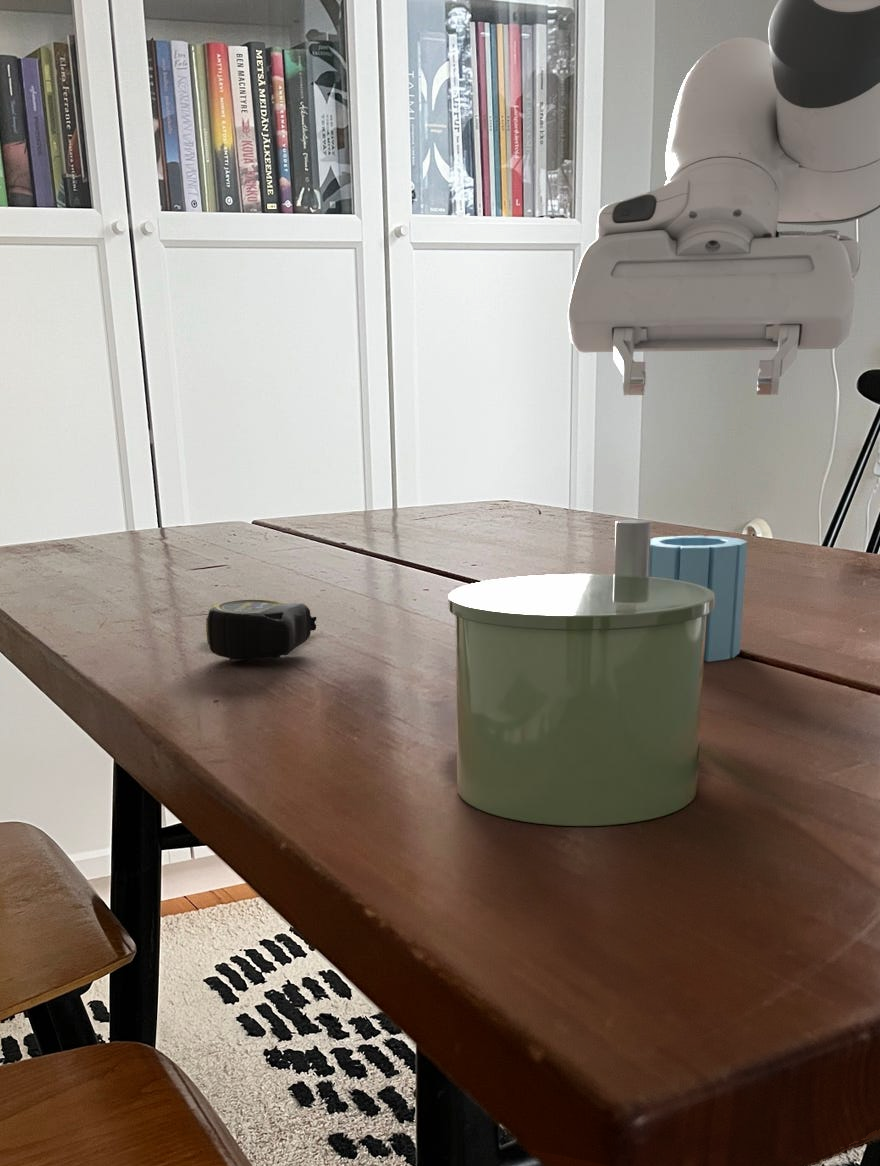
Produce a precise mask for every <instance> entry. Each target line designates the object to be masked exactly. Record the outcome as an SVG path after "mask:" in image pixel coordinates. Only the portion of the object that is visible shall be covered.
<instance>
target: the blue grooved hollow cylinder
mask: <svg viewBox="0 0 880 1166" xmlns="http://www.w3.org/2000/svg"><path fill="white" fill-rule="evenodd" d="M747 551H748V541H747V540H746V539H745V540H744V539H741V538H738V537H733V536H732V537H731V536H720V535H719V536H718V535H707V536H705V535H678V536H677V535H676V536H675V535H670V536H669V535H668V536H660V537H658V536H657V537H651V548H650V572H649V577H657V578H666V579H673V580H679V581H685V582H690V583H694V584H698V585H701V586H704V587H706V588H708V589H710V590H712V591H713V592H714V595H715V603H714V609H713V610H712V612H710V613H709V614H707V618H706V635H705V652H704V662H707V663H708V662H709V663H710V662H717V661H725V660H730V659H734V658H735V657H736V656H738V655H739V654H740V653H741V641H742V640H741V639H742V628H743V627H742V625H743V610H744V599H745V598H744V596H745V583H746V569H747V567H746V566H747Z"/></svg>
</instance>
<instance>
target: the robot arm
mask: <svg viewBox="0 0 880 1166" xmlns="http://www.w3.org/2000/svg"><path fill="white" fill-rule="evenodd" d="M767 36H768V37H767V38H768V43H769V44H768V43H767V42H765V41H763V40H762V39H760V38H759V39H758V38H756V37H750V36H740V37H734V38H730V39H727V40H724V41H722V42H719V43H718V44H716V45H714V46H712V47H711V48H710V49H708V50H707V51H706V52H705V53H704V54H702V55H701V56H700V57H699V58H698V60H696V62H695V63H694V65H693V66H692V68H691V69H690V70H689V72H688V73H687V74H686V77H685V78H684V80H683V82H682V85H681V86H680V89H679V92H678V95H677V99H676V101H675V105H674V109H673V112H672V117H671V121H670V126H669V127H670V128H669V132H668V138H667V143H666V151H665V172H666V173H665V174H666V177H667V180H666V181H665V184H664V185H661V186H659V187H656V188H655V189H651V190H650V191H647V192H644V193H641V194H638V195H635V196H632V197H629V198H626V199H621V200H619V201H615V202H612V203H609V204H606V205H605V206H603V207H601V208H600V210H599V212H598V214H597V221H596V222H597V223H596V231H595V232H596V233H595V235H596V237H595V238H596V239H595V240H594V241H593V242H592V243H591V244H589V246H587V248H586V250H585V251H584V253H583V255H582V257H581V259H580V261H579V264H578V268H577V271H576V273H575V277H574V280H573V284H572V287H571V288H572V289H571V293H570V297H569V303H568V311H567V324H568V332H569V334H568V335H569V339H570V342H571V343H572V345H573V346H574V347H575V349H576V350H577V351H578V352H580V353H585V354H586V353H589V354H590V353H612V354H613V362H614V363H615V365H616V366H617V368H618V370H619V372H620V373H621V375H622V376H623V377H622V390H623V391H622V392H623V396H626V397H627V396H644V395H645V391H646V390H645V386H646V382H647V381H646V380H647V372H646V367H647V366H646V361H635V359H634V353H640V352H641V353H643V352H645V353H646V352H647V353H649V352H651V353H652V352H653V353H654V352H713V351H714V352H715V351H716V352H717V351H722V352H723V351H776V353H775V354H774V356H773V357H772V358H771V359H763V360H759V366H758V374H757V375H758V377H757V385H756V386H757V388H756V395H757V396H771V395H773V396H774V395H775V396H777V395H779V386H780V378H781V377H782V376H784V374H785V373H786V372H787V370H788V369H790V367H791V366H792V365H793V364H794V362H795V361H796V359H797V356H798V350H833V349H834V350H835V349H837V348H838V347H839V346H840V345H842V343H844V342H845V341H846V340H847V339H848V337H849V335H850V331H851V328H852V327H851V326H852V321H853V314H854V302H855V301H854V300H855V299H854V297H855V296H854V281H853V279H854V278H855V277H856V275H857V274H858V273H859V271H860V266H861V247H860V244H859V242H858V241H857V240H855V239H853V238H852V237H849V236H848V235H844V234H843V235H842V234H841V231H840V230H836V229H823V230H821V231H805V230H804V231H803V230H784V231H778V224H779V225H780V224H781V225H794V226H795V225H796V226H829V225H840V224H845V223H849V222H853V221H857V220H859V219H862V218H864V217H867V216H869V215H870V214H872V213H874V212H876V211H877V210H878V209H880V0H778V1H777V3H776V5H775V6H774V8H773V11H772V13H771V16H770V19H769V23H768V28H767Z"/></svg>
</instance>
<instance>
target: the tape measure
mask: <svg viewBox="0 0 880 1166" xmlns="http://www.w3.org/2000/svg"><path fill="white" fill-rule="evenodd" d="M205 622H206V623H205V627H206V629H205V630H206V632H205V633H206V641H207V645H208V646H209V649H210V652H211V653H212V654H215V655H217V656H219V657H221V658H227V659H229V660H230V661H231V662H235V663H236V662H239V661H243V660H256V659H268V658H270V659H271V660H276V661H280V660H281V657H282V656H287V655H289V654H290V653H291V652H293V651H294V650H295V649H296V648H298V647H299V646H300V645H303V644H304V643H305V642H307V641H308V639H309V638H310V636H311V634H312V631H313V632H314V631H316V629H317V624H316V622H317V616H312V613H311V610H310V608H309V606H308V605H306V604H305V603H303V602H283V601H282V602H281V601H278V600H271V599H270V600H269V599H239V600H230V601H225V602H219V603H217V604H215V605H213V606H212V607H210V609H209V610H208V614H207V616H206V619H205Z"/></svg>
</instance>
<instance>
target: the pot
mask: <svg viewBox="0 0 880 1166" xmlns="http://www.w3.org/2000/svg"><path fill="white" fill-rule="evenodd" d="M652 523H653V522H652V520H650V519H649V520H647V519H620V520H619V519H618V520H616V521H615V527H614V556H613V557H614V559H613V562H614V563H613V574H609V573H608V574H607V573H605V574H602V573H601V574H600V573H599V574H597V573H596V574H595V573H574V574H573V573H570V574H569V573H568V574H567V573H565V574H544V575H527V576H516V577H507V578H498V579H497V578H496V579H490V580H485V581H480V582H475V583H470V584H467V585H463V586H460V587H458V588H456V589H454V590H452V591H451V592H450V593H448V596H447V606H448V607H447V608H448V611H449V612H450V613H451V614H452V615H453V616H454V629H455V630H454V633H455V637H454V638H455V643H454V644H455V711H456V712H455V714H456V715H455V721H456V722H455V723H456V726H455V727H456V733H455V734H456V790H457V793H458V795H459V797H460V798H461V799H462V800H463V802H465V803H466V804H468V805H469V806H471V807H473V808H475V809H477V810H479V811H482V812H485V813H487V814H490V815H493V816H497V817H499V818H504V819H508V820H512V821H517V822H518V821H519V822H522V823H523V822H524V823H530V824H538V825H545V826H546V825H547V826H561V827H562V826H563V827H600V826H601V827H602V826H603V827H604V826H616V825H627V824H633V823H640V822H644V821H649V820H653V819H658V818H662V817H665V816H668V815H670V814H673V813H677V812H678V811H680V810H682V809H684V808H685V807H687V806H688V805H689V804H691V803H692V802H693V800H695V797H696V795H697V787H698V772H699V770H698V769H699V755H700V754H699V753H700V750H699V749H700V735H701V721H702V720H701V718H702V703H703V684H704V667H705V666H704V665H705V661H704V652H705V635H706V618H707V614H709V613H710V612H712V610H713V609H714V603H715V595H714V592H713V591H712V590H710V589H708V588H706V587H704V586H701V585H698V584H694V583H690V582H685V581H679V580H673V579H666V578H657V577H649V572H650V548H651V539H652Z"/></svg>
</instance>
